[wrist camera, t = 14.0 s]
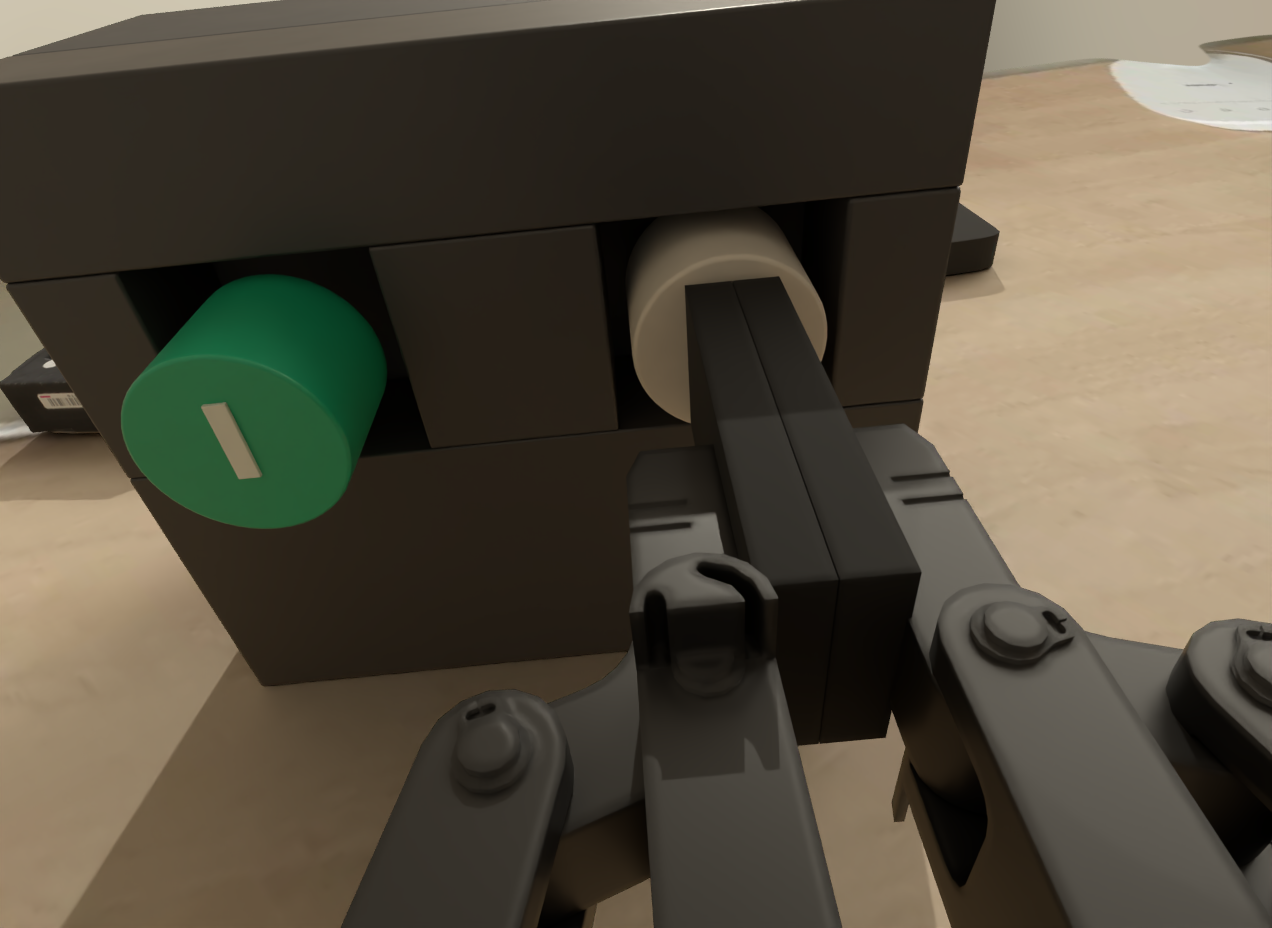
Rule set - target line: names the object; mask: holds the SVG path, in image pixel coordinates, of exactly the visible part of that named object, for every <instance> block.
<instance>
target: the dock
mask: <svg viewBox="0 0 1272 928" xmlns="http://www.w3.org/2000/svg"><path fill="white" fill-rule="evenodd" d="M995 3H996V0H280V1H270V2H261V3H251V4H242V5H233V6H223V7H214V8H204V9H194V10H184V11H175V12H166V13H156V14H146V15H140V16H137V17H134V18H131V19H127V20H124V21H121V22H118V23H115V24H111V25H108V26H105V27H102V28H99V29H95V30H93V31H89V32H86V33H83V34H79V35H77V36H73V37H70V38H67V39H64V40H60V41H57V42H54V43H51V44H48V45H45V46H41V47H38V48H35V49H32V50H28V51H25V52H22V53H19V54H16V55H13V56H11V57H6V58H3V59H0V279H1V280H2V281H3V282H4V283H8V284H7V285H6V288H7V290H8V292H9V293H10V295H11V296H12V298H13V299H14V301H15V303H16V304H17V306H18V307H19V309H20V310H21V312H22V313H23V315H24V317H25V318H26V320H27V321H28V323H29V324H30V326H31V327H32V329H33V330H34V332H35V334H36V335H37V337H38V338H39V340H40V341H41V343H42V344H43V346H44V348H45V349H46V351H47V352H48V354H49V355H50V357H51V358H52V360H53V362H54V363H55V365H56V366H57V368H58V369H59V371H60V372H61V374H62V376H63V377H64V379H65V380H66V382H67V383H68V385H69V386H70V388H71V389H72V391H73V393H74V394H75V396H76V397H77V399H78V400H79V402H80V403H81V405H82V407H83V408H84V410H85V411H86V413H87V414H88V416H89V417H90V419H91V421H92V422H93V424H94V425H95V427H96V428H97V430H98V431H99V433H100V435H101V436H102V438H103V439H104V441H105V442H106V444H107V445H108V447H109V448H110V450H111V452H112V453H113V455H114V456H115V458H116V459H117V461H118V462H119V464H120V466H121V467H122V469H123V470H124V472H125V473H126V475H127V476H128V477H129V478H131V483H132V485H133V486H134V488H135V489H136V491H137V492H138V494H139V495H140V497H141V499H142V500H143V502H144V503H145V505H146V506H147V508H148V509H149V511H150V512H151V514H152V516H153V517H154V519H155V520H156V522H157V523H158V525H159V526H160V528H161V530H162V531H163V533H164V534H165V536H166V537H167V539H168V540H169V542H170V544H171V545H172V547H173V548H174V550H175V551H176V553H177V554H178V556H179V557H180V559H181V561H182V562H183V564H184V565H185V567H186V568H187V570H188V571H189V573H190V575H191V576H192V578H193V579H194V581H195V582H196V584H197V585H198V587H199V589H200V590H201V592H202V593H203V595H204V596H205V598H206V599H207V601H208V603H209V604H210V606H211V607H212V609H213V610H214V612H215V613H216V615H217V616H218V618H219V620H220V621H221V623H222V624H223V626H224V627H225V629H226V630H227V632H228V634H229V635H230V637H231V638H232V640H233V641H234V643H235V644H236V646H237V648H238V649H239V651H240V652H241V654H242V655H243V657H244V658H245V660H246V661H247V663H248V665H249V666H250V668H251V669H252V671H253V672H254V674H255V675H256V677H257V679H258V680H259V682H260V683H261V685H262V686H269V685H279V684H289V683H300V682H310V681H320V680H330V679H340V678H351V677H361V676H371V675H381V674H392V673H402V672H412V671H422V670H432V669H443V668H453V667H463V666H473V665H484V664H494V663H504V662H514V661H525V660H535V659H545V658H555V657H565V656H576V655H586V654H596V653H606V652H617V651H627V650H629V648H630V646H631V643H632V641H633V640H632V632H631V624H630V617H629V610H630V605H631V600H632V594H633V590H634V589H633V574H632V559H631V543H630V528H629V512H628V497H627V482H626V476H627V474H628V472H629V470H630V469H631V467H632V465H633V463H634V461H635V459H636V457H637V456H638V454H639V452H640V451H646V450H656V449H667V448H677V447H688V446H695V443H694V438H693V433H692V428H691V423H688V422H685V421H683V420H681V419H678V418H676V417H674V416H673V415H671V414H669V413H668V412H666V411H665V410H663V409H662V408H661V407H660V406H658V405H657V404H656V403H655V402H654V401H653V400H652V399H651V398H650V397H649V395H648V394H647V393H646V391H645V390H644V388H643V387H642V385H641V383H640V381H639V379H638V377H637V374H636V371H635V368H634V362H633V357H632V347H631V337H630V327H629V318H628V308H627V298H626V286H625V277H626V269H627V265H628V261H629V257H630V255H631V252H632V250H633V247H634V246H635V244H636V242H637V240H638V239H639V237H640V236H641V234H642V233H643V232H644V230H645V229H646V228H647V227H648V226H649V225H650V224H651V223H652V222H653V221H654V220H655V219H656V218H658V217H660V216H670V215H679V214H689V213H699V212H709V211H718V210H728V209H738V208H748V207H758V208H760V209H761V210H763V211H764V212H765V213H766V214H768V215H769V216H770V217H771V218H772V219H773V220H774V221H775V222H776V223H777V224H778V226H779V227H780V229H781V230H782V231H783V233H784V235H785V237H786V238H787V240H788V242H789V244H790V245H791V247H792V249H793V251H794V253H795V254H796V256H797V258H798V260H799V261H800V263H801V265H802V267H803V269H804V270H805V272H806V274H807V276H808V277H809V279H810V281H811V283H812V285H813V286H814V288H815V290H816V292H817V294H818V296H819V298H820V300H821V302H822V304H823V307H824V311H825V314H826V320H827V341H826V347H825V351H824V354H823V358H822V361H821V364H822V366H823V368H824V370H825V372H826V374H827V376H828V378H829V380H830V382H831V384H832V387H833V389H834V391H835V393H836V395H837V397H838V399H839V401H840V403H841V405H842V407H843V409H844V411H845V413H846V416H847V418H848V420H849V422H850V424H851V426H852V428H861V427H872V426H882V425H892V424H903V423H904V424H905V425H907V426H908V427H909V428H911V429H912V430H914V431H915V432H916V433H918V429H919V423H920V418H921V412H922V407H923V399H922V398H923V396H924V392H925V386H926V381H927V375H928V370H929V364H930V358H931V353H932V347H933V342H934V336H935V331H936V325H937V320H938V314H939V309H940V303H941V298H942V292H943V287H944V281H945V276H946V270H947V265H948V259H949V254H950V248H951V243H952V237H953V232H954V226H955V221H956V215H957V210H958V204H959V199H960V193H961V191H960V187H959V186H960V185H962V183H963V180H964V174H965V169H966V163H967V158H968V152H969V147H970V141H971V136H972V130H973V125H974V119H975V114H976V108H977V103H978V97H979V92H980V86H981V81H982V75H983V69H984V64H985V59H986V53H987V47H988V42H989V36H990V31H991V26H992V20H993V15H994V9H995ZM264 274H276V275H286V276H292V277H297V278H301V279H304V280H307V281H310V282H313V283H315V284H318V285H320V286H322V287H325V288H326V289H328V290H330V291H332V292H334V293H335V294H337V295H339V296H340V297H341V298H343V299H344V300H346V301H347V302H348V303H349V304H351V305H352V306H353V307H354V308H355V309H356V310H358V312H359V313H360V314H361V315H362V316H363V317H364V318H365V319H366V320H367V322H368V323H369V324H370V326H371V327H372V328H373V330H374V332H375V333H376V335H377V337H378V339H379V341H380V343H381V346H382V348H383V351H384V354H385V358H386V363H387V383H386V387H385V391H384V394H383V397H382V399H381V402H380V404H379V407H378V410H377V412H376V415H375V417H374V420H373V422H372V425H371V428H370V430H369V433H368V435H367V438H366V441H365V443H364V446H363V448H362V451H361V454H360V456H359V459H358V461H357V464H356V467H355V469H354V472H353V474H352V477H351V480H350V482H349V484H348V487H347V489H346V491H345V493H344V494H343V496H342V497H341V499H340V500H339V501H338V502H337V503H336V504H335V505H334V506H333V507H332V508H330V509H329V510H328V511H326V512H325V513H324V514H322V515H320V516H318V517H317V518H315V519H313V520H310V521H308V522H305V523H303V524H299V525H295V526H291V527H284V528H275V529H256V528H246V527H239V526H234V525H230V524H225V523H222V522H219V521H215V520H212V519H210V518H207V517H205V516H202V515H200V514H197V513H195V512H193V511H191V510H189V509H187V508H185V507H183V506H182V505H180V504H179V503H177V502H175V501H174V500H172V499H171V498H169V497H168V496H167V495H165V494H164V493H163V492H161V491H160V490H159V489H158V488H157V487H156V486H155V485H154V484H152V483H151V482H150V481H149V480H148V478H147V477H146V476H145V475H144V474H143V473H142V472H141V470H140V469H139V468H138V466H137V465H136V463H135V462H134V461H133V459H132V457H131V455H130V453H129V451H128V449H127V447H126V444H125V441H124V439H123V434H122V429H121V410H122V405H123V401H124V398H125V396H126V393H127V391H128V390H129V388H130V387H131V385H132V384H133V382H134V381H135V380H136V379H137V378H138V376H139V375H140V374H141V373H142V372H143V371H144V370H145V369H146V367H147V366H148V365H149V364H150V363H151V362H152V361H153V360H154V358H155V357H156V356H157V355H158V354H159V353H160V352H161V351H162V349H163V348H164V347H165V346H166V345H167V344H168V343H169V342H170V340H171V339H172V338H173V337H174V336H175V335H176V334H177V333H178V331H179V330H180V329H181V328H182V327H183V326H184V325H185V324H186V322H187V321H188V320H189V319H190V318H191V317H192V316H193V315H194V313H195V312H196V311H197V310H198V309H199V308H200V307H201V306H202V304H203V303H204V302H205V301H206V300H207V299H208V298H209V297H210V296H211V295H212V294H213V293H214V292H215V291H216V290H218V289H219V288H221V287H222V286H223V285H225V284H227V283H229V282H232V281H234V280H237V279H240V278H243V277H247V276H253V275H264Z"/></svg>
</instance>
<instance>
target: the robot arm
mask: <svg viewBox="0 0 1272 928" xmlns="http://www.w3.org/2000/svg"><path fill="white" fill-rule="evenodd" d="M685 304H686V327H687V349H688V372H689V395H690V418H691V428H692V433H693V438H694V443H695V446H688V447H677V448H667V449H656V450H646V451H640V452H639V454H638V456H637V457H636V459H635V461H634V463H633V465H632V467H631V469H630V470H629V472H628V474H627V476H626V482H627V497H628V512H629V528H630V543H631V559H632V574H633V589H634V590H633V594H632V600H631V605H630V610H629V617H630V624H631V632H632V640H633V641H632V643H631V646H630V648H629V651H628V653H627V654H626V655H625V657H624V658H623V659H622V661H621V662H620V663H619V665H618V666H617V667H616V668H615V669H614V670H613V671H611V672H610V673H609V674H608V675H607V676H605V677H604V678H603V679H602V680H600V681H598V682H596V683H594V684H592V685H590V686H589V687H587V688H585V689H583V690H580V691H578V692H575V693H573V694H570V695H568V696H565V697H563V698H560V699H558V700H555V701H553V702H550V703H548V704H547V703H545V702H544V701H543V700H542V699H541V698H540V697H538V696H535V695H532V694H528V693H525V692H522V691H519V690H516V689H511V690H494V691H486V692H484V693H481V694H479V695H476V696H474V697H471V698H469V699H466V700H463V701H461V702H460V703H459V704H457V705H456V706H455V707H454V708H452V709H451V710H450V711H448V712H447V713H446V714H445V715H443V716H442V717H441V718H440V719H438V721H437V722H436V724H435V725H434V727H433V728H432V730H431V731H430V733H429V734H428V736H427V737H426V739H425V740H424V742H423V743H422V745H421V747H420V750H419V752H418V754H417V757H416V759H415V761H414V763H413V766H412V768H411V770H410V772H409V775H408V777H407V779H406V781H405V784H404V786H403V788H402V790H401V793H400V795H399V797H398V799H397V802H396V804H395V806H394V808H393V811H392V813H391V815H390V817H389V820H388V822H387V824H386V826H385V829H384V831H383V833H382V836H381V838H380V840H379V842H378V845H377V847H376V849H375V851H374V854H373V856H372V858H371V860H370V863H369V865H368V867H367V869H366V872H365V874H364V876H363V878H362V881H361V883H360V885H359V887H358V890H357V892H356V894H355V896H354V899H353V901H352V903H351V905H350V908H349V910H348V912H347V915H346V917H345V919H344V921H343V924H342V926H341V928H592V925H593V920H594V915H595V911H596V906H597V903H599V902H601V901H603V900H605V899H607V898H610V897H612V896H614V895H616V894H618V893H620V892H622V891H624V890H626V889H628V888H630V887H632V886H634V885H636V884H638V883H641V882H643V881H645V880H647V879H649V878H651V893H652V907H653V922H654V928H842V924H841V920H840V916H839V912H838V908H837V904H836V900H835V896H834V892H833V888H832V884H831V880H830V876H829V872H828V868H827V864H826V860H825V856H824V852H823V848H822V843H821V839H820V835H819V831H818V827H817V823H816V819H815V815H814V811H813V807H812V803H811V799H810V795H809V791H808V787H807V783H806V779H805V775H804V771H803V767H802V763H801V758H800V754H799V750H798V746H799V745H810V744H818V743H820V744H821V743H832V742H843V741H854V740H865V739H876V738H886V734H887V729H888V725H889V720H890V716H891V711H892V712H893V715H894V717H895V720H896V723H897V725H898V728H899V731H900V734H901V736H902V739H903V742H904V745H905V751H904V755H903V759H902V763H901V767H900V771H899V775H898V779H897V783H896V787H895V791H894V795H893V799H892V808H893V817H894V822H901V821H904V820H905V816H906V812H907V809H908V805H910V808H911V811H912V814H913V816H914V819H915V822H916V825H917V828H918V831H919V834H920V837H921V840H922V843H923V846H924V849H925V851H926V854H927V857H928V860H929V863H930V866H931V869H932V872H933V875H934V878H935V881H936V884H937V886H938V889H939V892H940V895H941V898H942V901H943V904H944V907H945V910H946V913H947V916H948V919H949V921H950V924H951V927H952V928H1272V624H1271V623H1264V622H1258V621H1251V620H1245V619H1230V620H1222V621H1214V622H1210V623H1209V624H1207V625H1205V626H1204V627H1202V628H1201V629H1199V630H1198V631H1196V632H1195V633H1193V635H1192V636H1191V638H1190V640H1189V642H1188V643H1187V645H1186V647H1185V648H1184V650H1183V649H1177V648H1171V647H1165V646H1159V645H1153V644H1147V643H1141V642H1134V641H1128V640H1122V639H1116V638H1111V637H1106V636H1102V635H1098V634H1094V633H1090V632H1087V631H1084V630H1083V629H1082V628H1081V626H1080V625H1079V624H1078V623H1077V622H1076V621H1075V620H1074V619H1073V618H1072V617H1071V616H1070V615H1069V614H1068V612H1067V611H1066V610H1065V609H1064V608H1062V607H1061V606H1059V605H1057V604H1056V603H1054V602H1052V601H1051V600H1049V599H1047V598H1046V597H1044V596H1042V595H1041V594H1039V593H1036V592H1033V591H1030V590H1027V589H1024V588H1021V587H1020V585H1019V584H1018V583H1017V581H1016V580H1015V578H1014V576H1013V575H1012V573H1011V571H1010V570H1009V568H1008V566H1007V565H1006V563H1005V562H1004V560H1003V558H1002V557H1001V555H1000V553H999V552H998V550H997V548H996V547H995V545H994V544H993V542H992V540H991V539H990V537H989V535H988V534H987V532H986V530H985V529H984V527H983V526H982V524H981V522H980V521H979V519H978V517H977V516H976V514H975V512H974V511H973V509H972V507H971V506H970V504H969V503H968V501H967V499H963V493H962V491H961V489H960V488H959V486H958V485H957V483H956V481H955V480H954V478H953V477H950V474H949V472H950V471H949V470H948V468H947V467H946V465H945V463H944V462H943V460H942V458H941V457H940V455H939V453H938V452H937V450H936V449H935V447H934V445H933V444H931V443H930V442H929V441H927V440H926V439H925V438H923V437H922V436H920V435H919V434H918V433H916V432H915V431H914V430H912V429H911V428H909V427H908V426H907V425H905V424H904V423H903V424H892V425H882V426H872V427H861V428H852V426H851V424H850V422H849V420H848V418H847V416H846V413H845V411H844V409H843V407H842V405H841V403H840V401H839V399H838V397H837V395H836V393H835V391H834V389H833V387H832V384H831V382H830V380H829V378H828V376H827V374H826V372H825V370H824V368H823V366H822V364H821V362H820V360H819V357H818V355H817V353H816V351H815V349H814V347H813V345H812V343H811V341H810V339H809V337H808V335H807V333H806V331H805V328H804V326H803V324H802V322H801V320H800V318H799V316H798V314H797V312H796V310H795V308H794V306H793V304H792V302H791V299H790V297H789V295H788V293H787V291H786V289H785V287H784V285H783V283H782V281H781V279H780V277H779V276H776V277H766V278H755V279H745V280H735V281H724V282H714V283H704V284H694V285H685Z"/></svg>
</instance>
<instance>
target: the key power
mask: <svg viewBox="0 0 1272 928" xmlns="http://www.w3.org/2000/svg"><path fill="white" fill-rule="evenodd" d="M386 383H387V363H386V358H385V354H384V351H383V348H382V346H381V343H380V341H379V339H378V337H377V335H376V333H375V332H374V330H373V328H372V327H371V326H370V324H369V323H368V322H367V320H366V319H365V318H364V317H363V316H362V315H361V314H360V313H359V312H358V310H356V309H355V308H354V307H353V306H352V305H351V304H349V303H348V302H347V301H346V300H344V299H343V298H341V297H340V296H339V295H337V294H335V293H334V292H332V291H330V290H328V289H326V288H325V287H322V286H320V285H318V284H315V283H313V282H310V281H307V280H304V279H301V278H297V277H292V276H286V275H276V274H264V275H253V276H247V277H243V278H240V279H237V280H234V281H232V282H229V283H227V284H225V285H223V286H222V287H221V288H219V289H218V290H216V291H215V292H214V293H213V294H212V295H211V296H210V297H209V298H208V299H207V300H206V301H205V302H204V303H203V304H202V306H201V307H200V308H199V309H198V310H197V311H196V312H195V313H194V315H193V316H192V317H191V318H190V319H189V320H188V321H187V322H186V324H185V325H184V326H183V327H182V328H181V329H180V330H179V331H178V333H177V334H176V335H175V336H174V337H173V338H172V339H171V340H170V342H169V343H168V344H167V345H166V346H165V347H164V348H163V349H162V351H161V352H160V353H159V354H158V355H157V356H156V357H155V358H154V360H153V361H152V362H151V363H150V364H149V365H148V366H147V367H146V369H145V370H144V371H143V372H142V373H141V374H140V375H139V376H138V378H137V379H136V380H135V381H134V382H133V384H132V385H131V387H130V388H129V390H128V391H127V393H126V396H125V398H124V401H123V405H122V410H121V429H122V434H123V439H124V441H125V444H126V447H127V449H128V451H129V453H130V455H131V457H132V459H133V461H134V462H135V463H136V465H137V466H138V468H139V469H140V470H141V472H142V473H143V474H144V475H145V476H146V477H147V478H148V480H149V481H150V482H151V483H152V484H154V485H155V486H156V487H157V488H158V489H159V490H160V491H161V492H163V493H164V494H165V495H167V496H168V497H169V498H171V499H172V500H174V501H175V502H177V503H179V504H180V505H182V506H183V507H185V508H187V509H189V510H191V511H193V512H195V513H197V514H200V515H202V516H205V517H207V518H210V519H212V520H215V521H219V522H222V523H225V524H230V525H234V526H239V527H246V528H256V529H275V528H284V527H291V526H295V525H299V524H303V523H305V522H308V521H310V520H313V519H315V518H317V517H318V516H320V515H322V514H324V513H325V512H326V511H328V510H329V509H330V508H332V507H333V506H334V505H335V504H336V503H337V502H338V501H339V500H340V499H341V497H342V496H343V494H344V493H345V491H346V489H347V487H348V484H349V482H350V480H351V477H352V474H353V472H354V469H355V467H356V464H357V461H358V459H359V456H360V454H361V451H362V448H363V446H364V443H365V441H366V438H367V435H368V433H369V430H370V428H371V425H372V422H373V420H374V417H375V415H376V412H377V410H378V407H379V404H380V402H381V399H382V397H383V394H384V391H385V387H386Z"/></svg>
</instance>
